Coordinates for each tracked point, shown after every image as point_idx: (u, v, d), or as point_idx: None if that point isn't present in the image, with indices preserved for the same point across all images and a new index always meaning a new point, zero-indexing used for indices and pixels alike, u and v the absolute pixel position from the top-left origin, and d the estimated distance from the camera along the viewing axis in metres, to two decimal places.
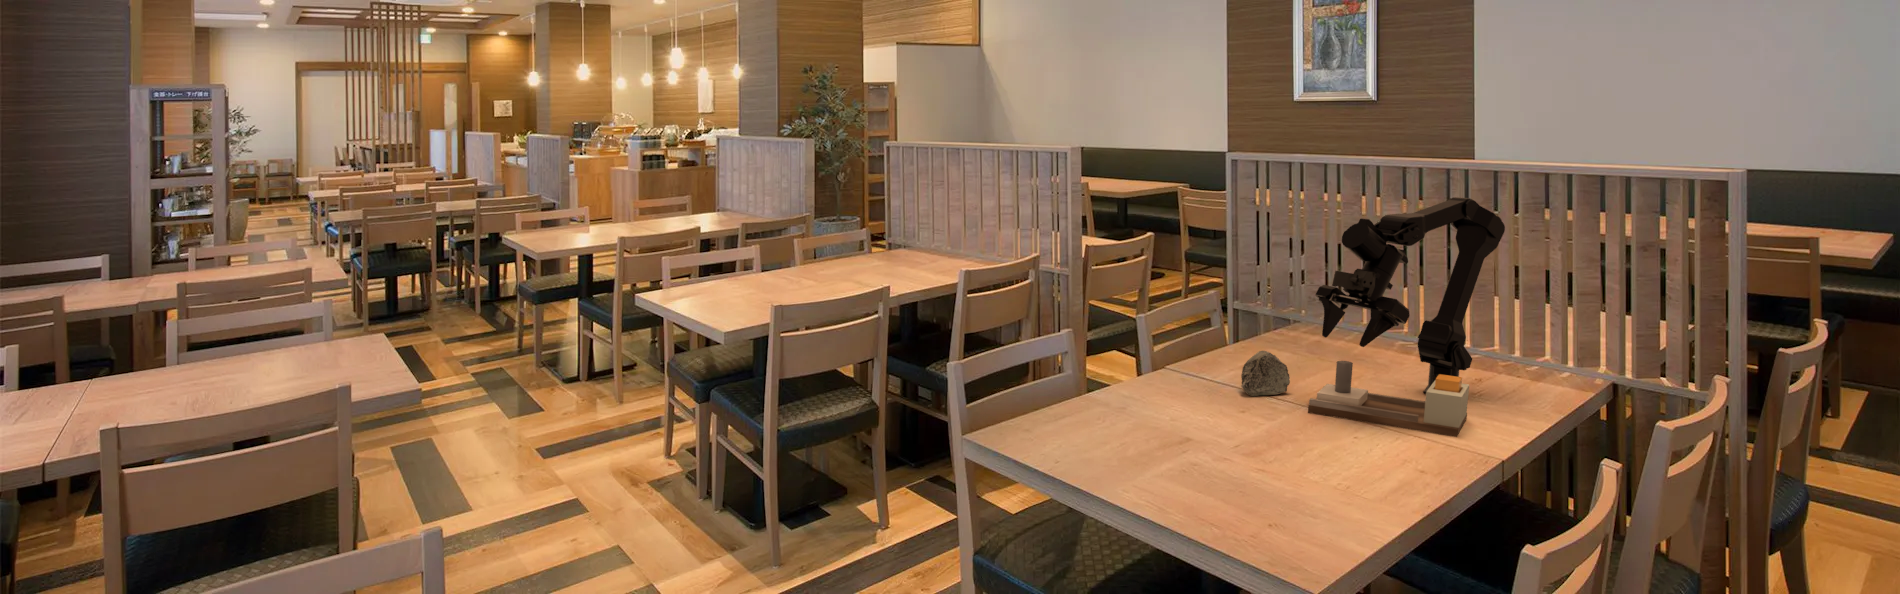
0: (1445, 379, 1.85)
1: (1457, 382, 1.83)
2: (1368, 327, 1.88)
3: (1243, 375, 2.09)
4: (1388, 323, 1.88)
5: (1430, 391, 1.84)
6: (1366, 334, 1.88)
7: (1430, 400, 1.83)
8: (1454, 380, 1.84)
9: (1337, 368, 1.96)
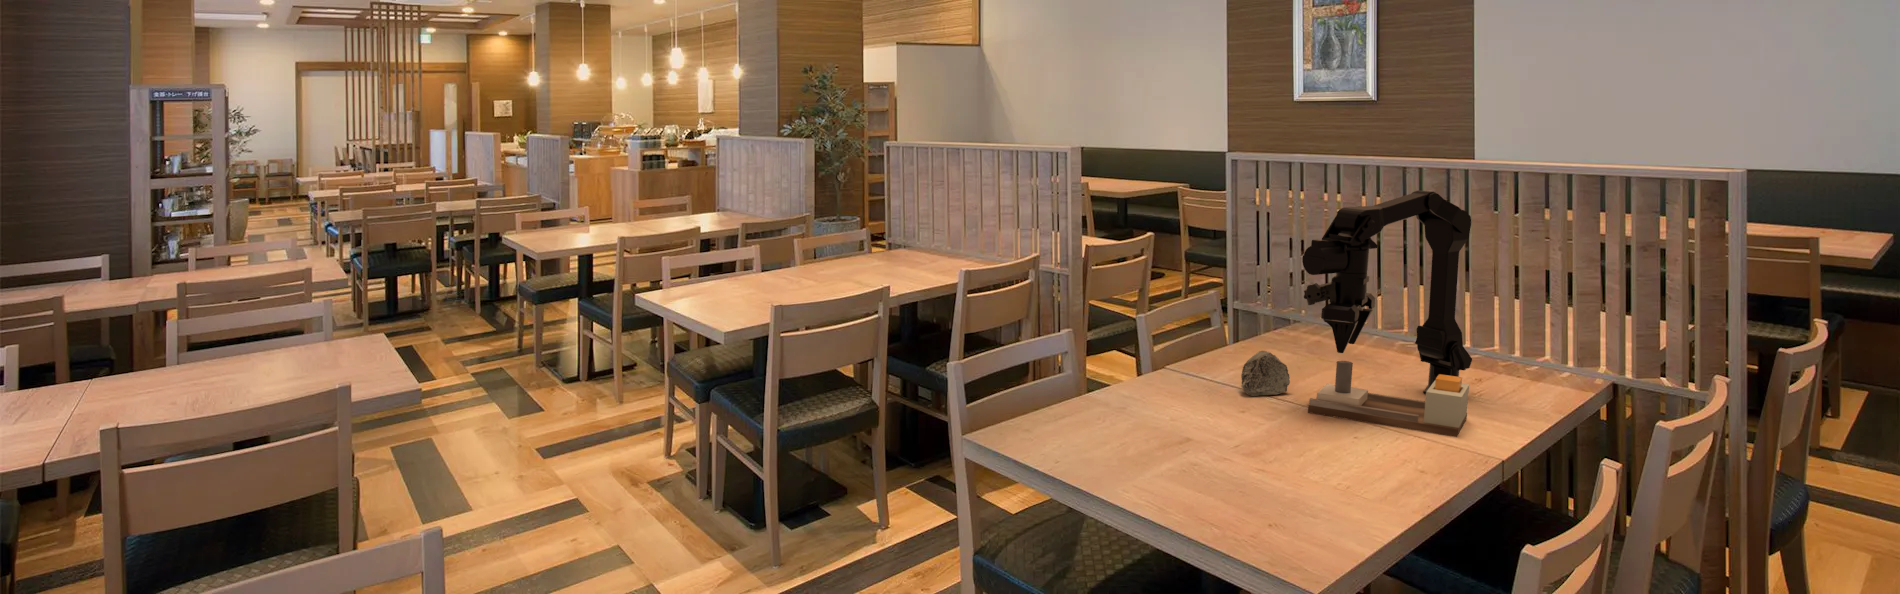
0: (1445, 379, 1.85)
1: (1457, 382, 1.83)
2: None
3: (1243, 375, 2.09)
4: (1348, 324, 1.88)
5: (1430, 391, 1.84)
6: (1335, 341, 1.91)
7: (1430, 400, 1.83)
8: (1454, 380, 1.84)
9: (1337, 368, 1.96)
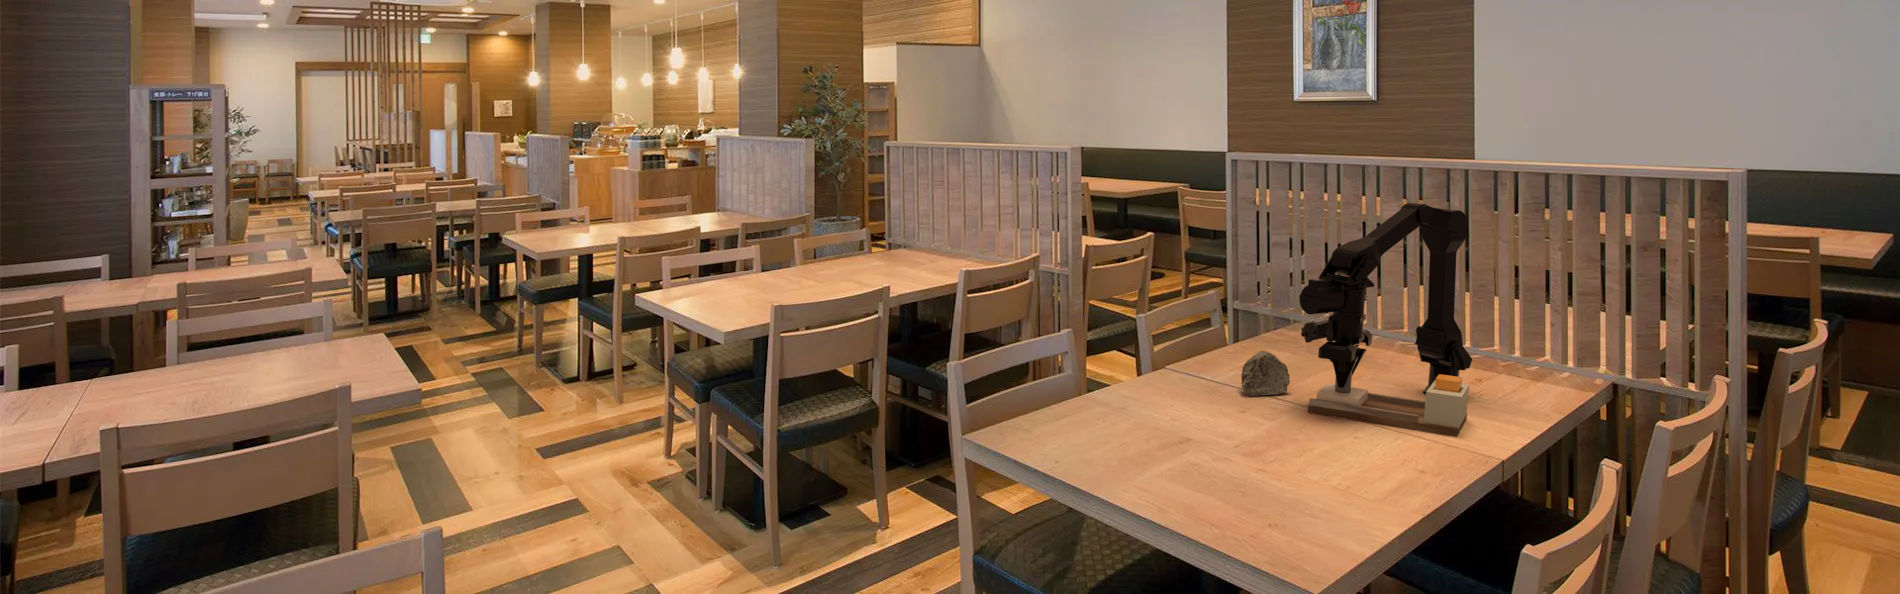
0: (1445, 379, 1.85)
1: (1457, 382, 1.83)
2: None
3: (1243, 375, 2.09)
4: None
5: (1430, 391, 1.84)
6: (1336, 376, 1.95)
7: (1430, 400, 1.83)
8: (1454, 380, 1.84)
9: None
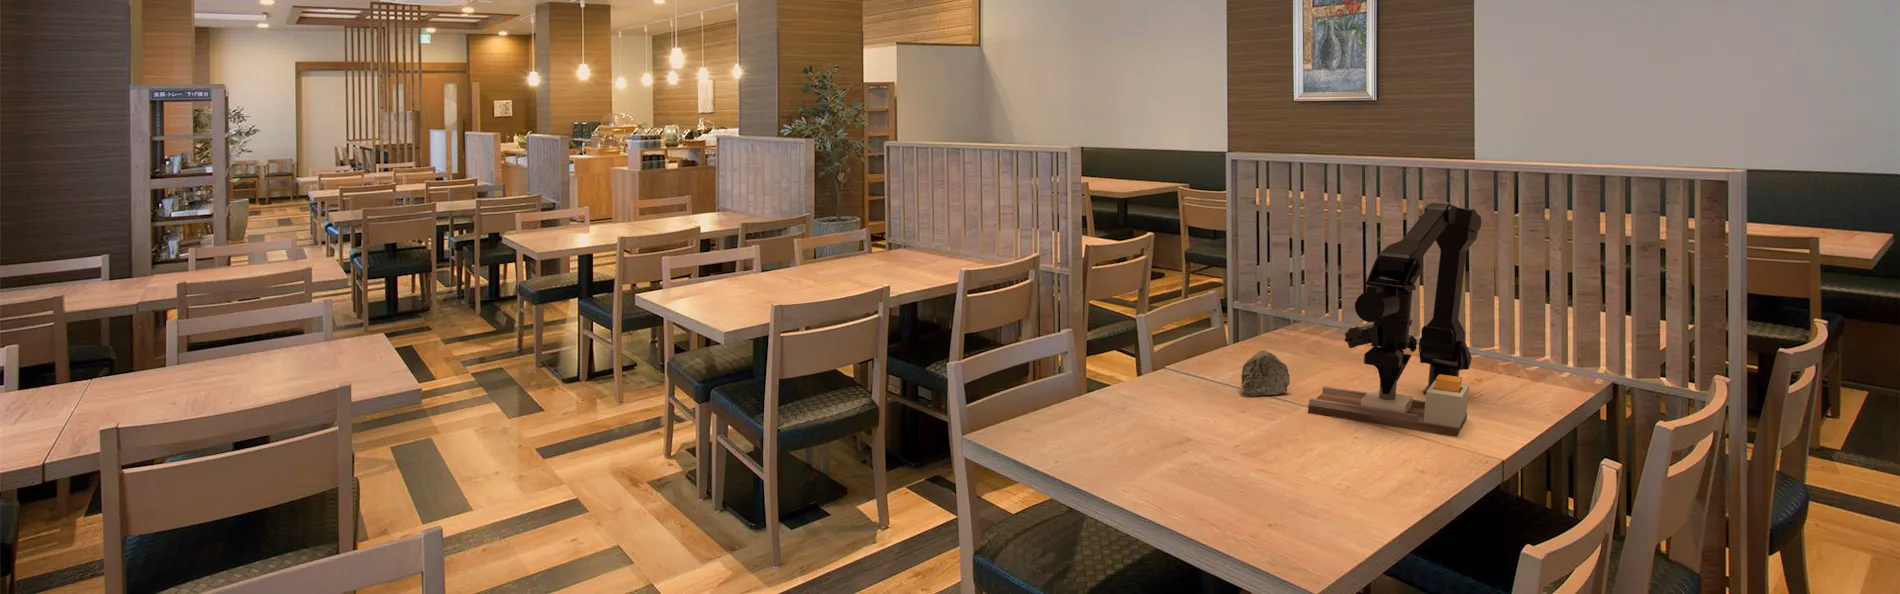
0: (1445, 379, 1.85)
1: (1457, 382, 1.83)
2: None
3: (1243, 375, 2.09)
4: None
5: (1430, 391, 1.84)
6: None
7: (1430, 400, 1.83)
8: (1454, 380, 1.84)
9: None
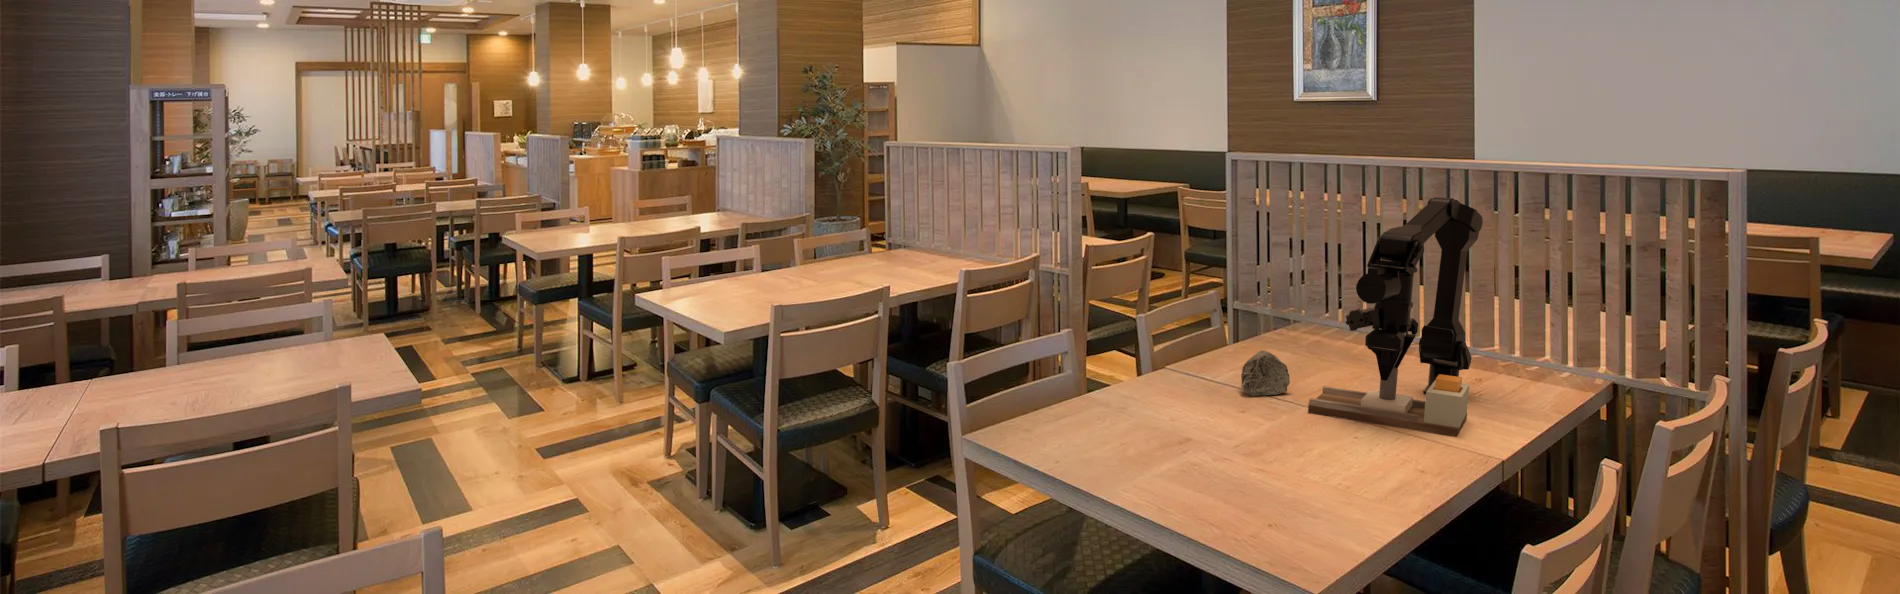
0: (1445, 379, 1.85)
1: (1457, 382, 1.83)
2: None
3: (1243, 375, 2.09)
4: (1393, 352, 1.84)
5: (1430, 391, 1.84)
6: None
7: (1430, 400, 1.83)
8: (1454, 380, 1.84)
9: None
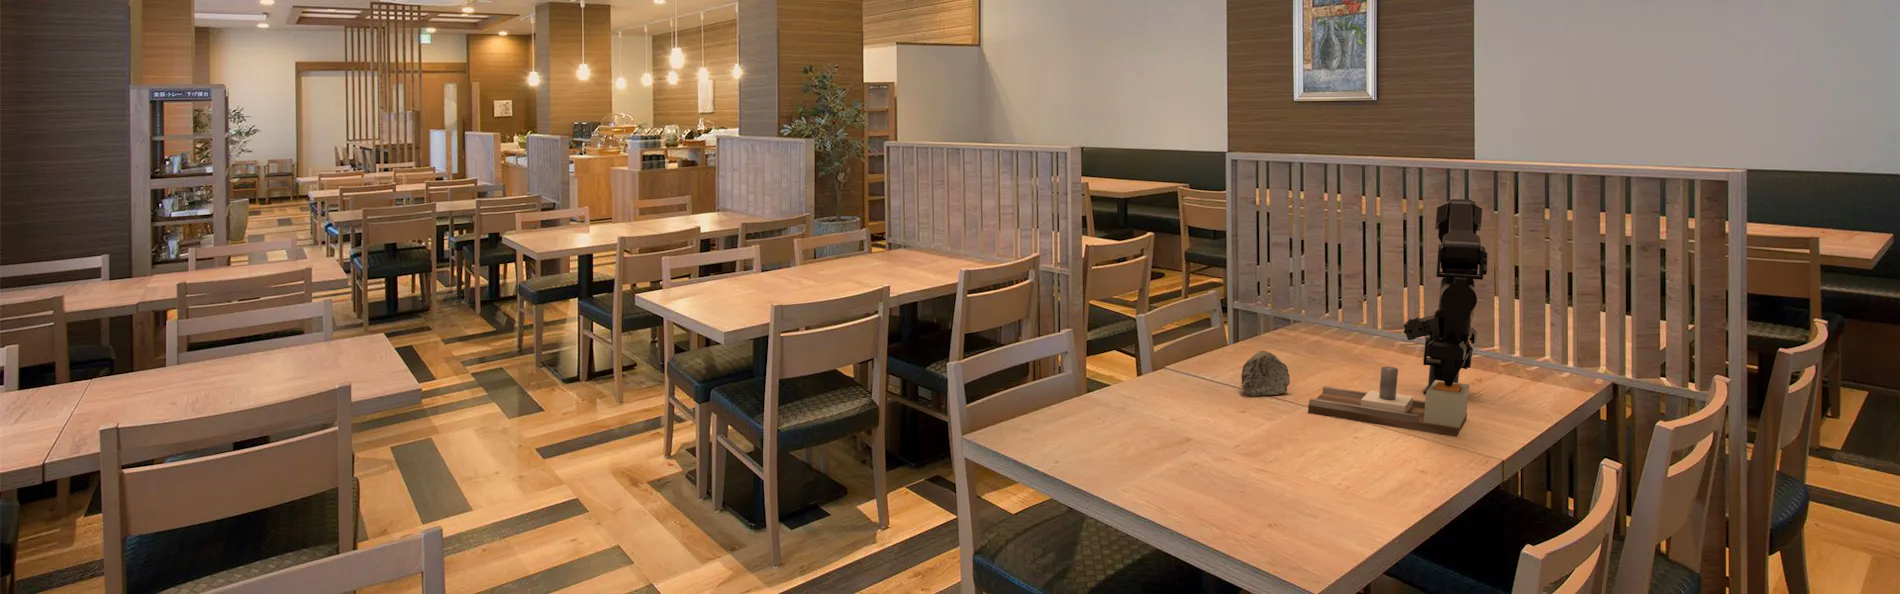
0: (1444, 387, 1.85)
1: (1456, 390, 1.83)
2: None
3: (1243, 375, 2.09)
4: None
5: (1430, 391, 1.84)
6: (1443, 374, 1.85)
7: (1430, 400, 1.83)
8: (1453, 388, 1.84)
9: (1382, 374, 1.92)
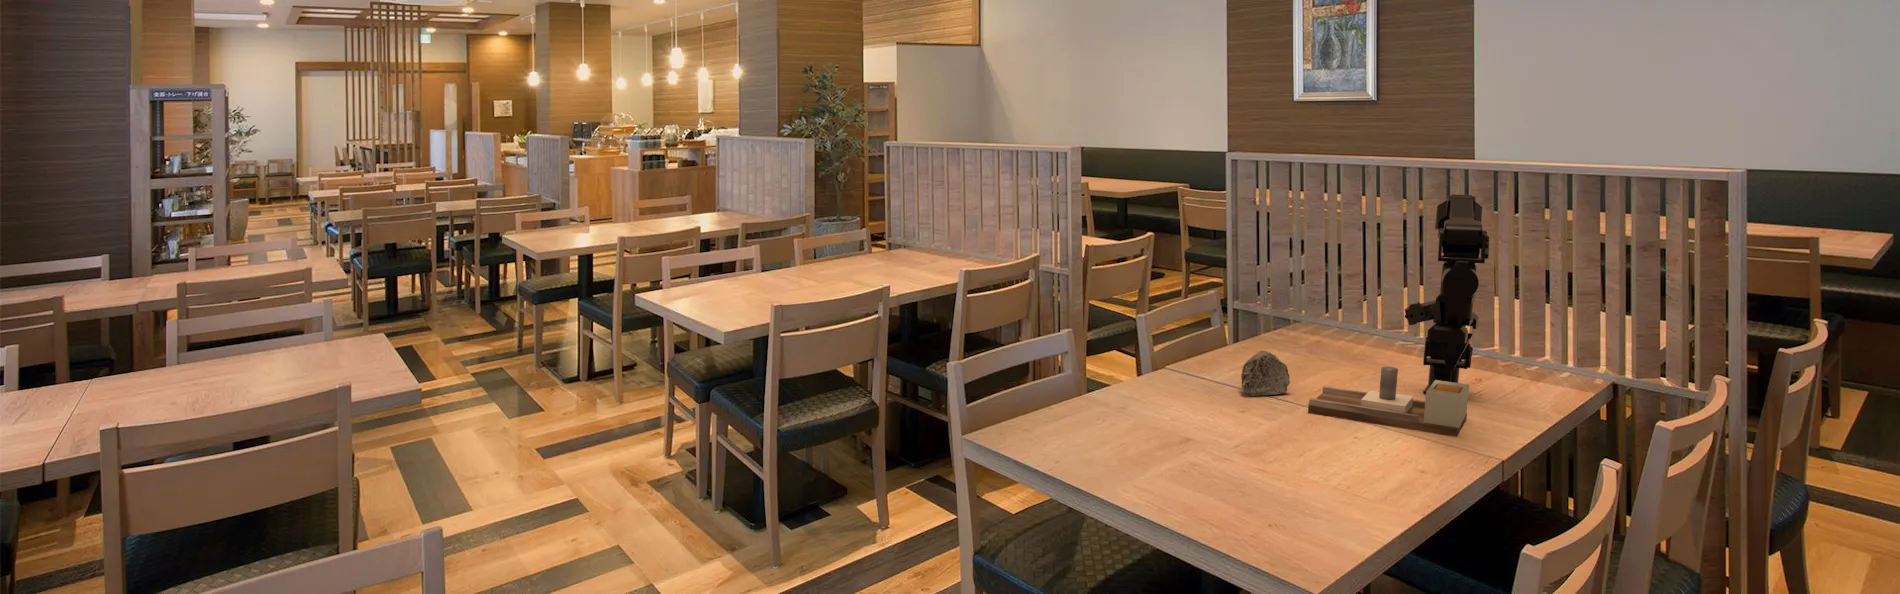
0: (1444, 389, 1.85)
1: None
2: None
3: (1243, 375, 2.09)
4: None
5: (1430, 391, 1.84)
6: (1444, 359, 1.85)
7: (1430, 400, 1.83)
8: (1453, 390, 1.84)
9: (1382, 374, 1.92)
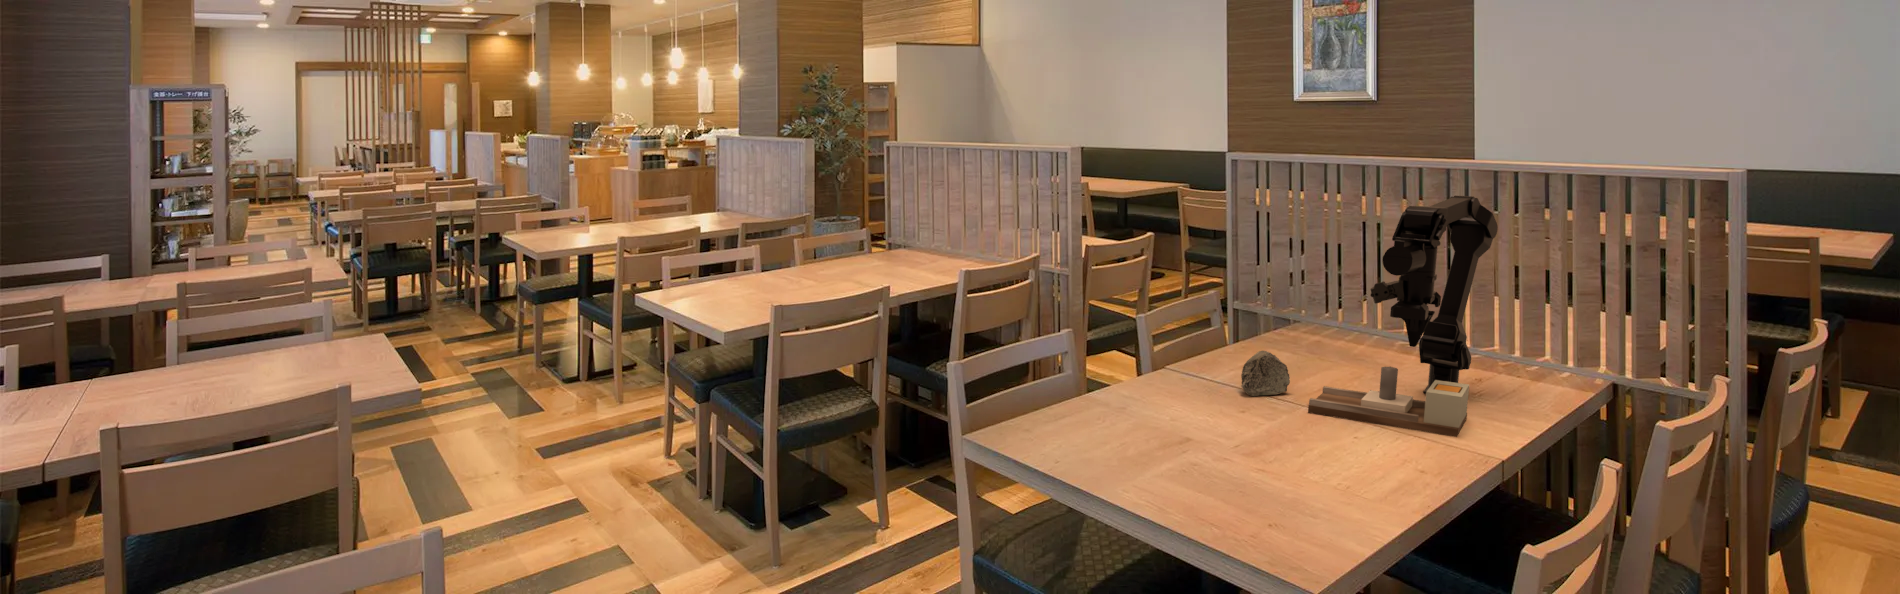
0: (1444, 389, 1.85)
1: None
2: None
3: (1243, 375, 2.09)
4: None
5: (1430, 391, 1.84)
6: None
7: (1430, 400, 1.83)
8: (1453, 390, 1.84)
9: (1382, 374, 1.92)
